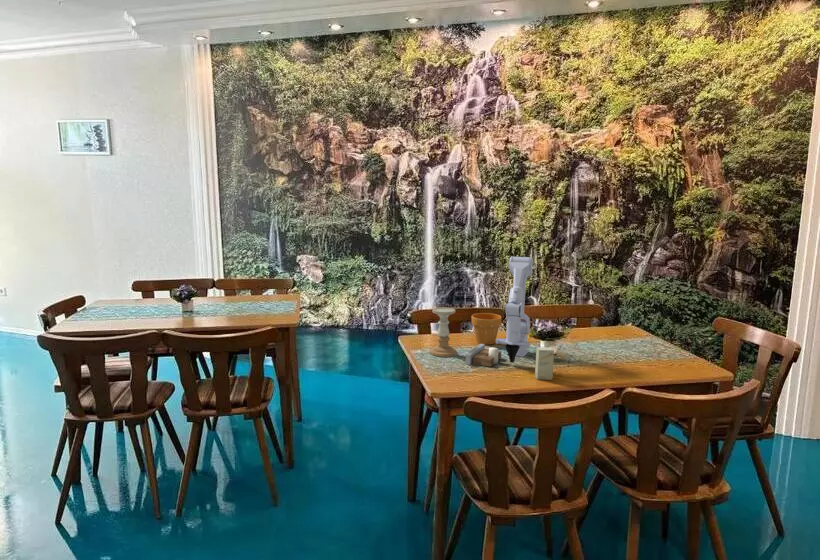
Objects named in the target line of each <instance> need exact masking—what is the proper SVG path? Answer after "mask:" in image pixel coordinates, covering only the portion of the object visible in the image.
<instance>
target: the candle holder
mask: <svg viewBox="0 0 820 560" xmlns="http://www.w3.org/2000/svg"><path fill="white" fill-rule="evenodd" d="M432 313H433V314H434V315H435V314H436V315H437V316H438V317H439V321H437V323H438V324H439V325H438V329H437V335H438V336H437V338H436V340H437V345H435V346H434V347H432V348H430V349H429V354H430V355H431V356H434V357H439V358H449V357H454V356H456V355H457V353H458V351H457V349H456V348H454V347H453V346H452V345H449V341H450V339H451V338H450V329H449V324H450V321H449V319H448V318H449V316H450V315H454V314H455V313H456V309H455V308H452V307H440V306H439V307H433V309H432Z"/></svg>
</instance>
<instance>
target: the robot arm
mask: <svg viewBox="0 0 820 560" xmlns="http://www.w3.org/2000/svg"><path fill="white" fill-rule="evenodd" d="M533 260H534V259H533V257H532V256H530V257H529V256H528V257H527V256H513V255H511V256H510V257H509V263H508V266H509V271H510V274H511V275H512V276H513V283H512V287H511V288H510V289H509V294H508V295H509V296H508V302H507V303H506V306H505V316H506V317H505V320H506V333H505V335H506V336H505V338H500V337H499V338H497V337H496V340H495V345H496V344H497V345H498V344H500V345H505V350H506V355H508V357H509V363H515V360H516V357H523V358H524V357H525V356H526V355H527V354H528V353H530V351H529V350H530V347H531V342H528V336H527V335H529V334H530V329H531V328H530V327H531V322H530V321H531V318H530V317H529V316H528V315H527V314H526V313H525V303H526V302H525V301H526V286H527V281H528V277H530V276H531V277H532V274H533V265H534V264H533V263H534V261H533ZM528 349H529V350H528Z"/></svg>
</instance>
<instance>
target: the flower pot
mask: <svg viewBox="0 0 820 560" xmlns="http://www.w3.org/2000/svg"><path fill="white" fill-rule="evenodd" d="M471 325H473V330H474V335H475V340H476V343H477V344H478V345H479V344H485V346H487V345H488V346H489V345H493V344H496V339H497V336H498V332H499V328H500V326H501V325H502V316H501V315H500V314H496V313H493V312H478V313H473V314H472V315H471Z"/></svg>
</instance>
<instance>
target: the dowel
mask: <svg viewBox="0 0 820 560" xmlns="http://www.w3.org/2000/svg"><path fill="white" fill-rule="evenodd" d="M488 349H489V357H494V364H493V365H495V364H498V363H499V360H498V351H499V348H497V347H493V346H492V347H489V348H488Z"/></svg>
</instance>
